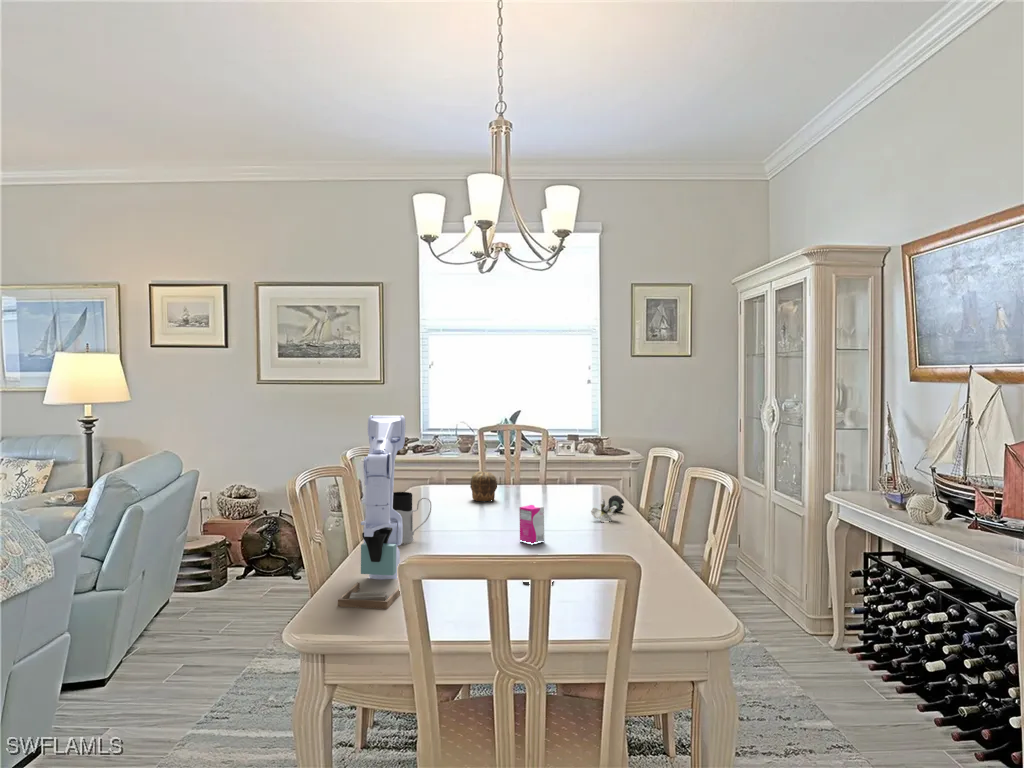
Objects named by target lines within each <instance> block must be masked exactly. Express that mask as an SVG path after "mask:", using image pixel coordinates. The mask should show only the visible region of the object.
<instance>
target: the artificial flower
mask: <svg viewBox="0 0 1024 768" xmlns="http://www.w3.org/2000/svg"><path fill="white" fill-rule="evenodd" d="M624 504H625V500H624V498H622V497H621V496H619V495H612V496H610V497H609V498H608V504H606V501H605V499H602V500H601V503H600V509H599V508H597V507H593V508H592V509H591V510H590V513H591V515H592V517H593V518H594V519H599V521H600V522H602V523H603V521H610V522H611V521H612V520H613V519H612V517H611V516H610V515H609V514H611V513H612V514H613V513H614V512H616V511H620V512H622V511H623V510H624ZM608 513H609V514H608Z"/></svg>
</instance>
